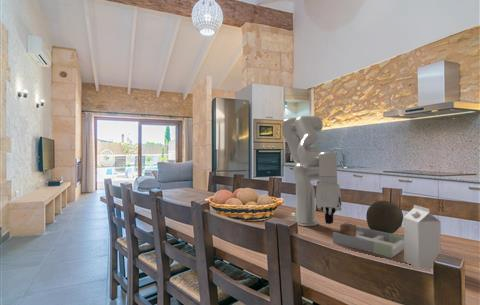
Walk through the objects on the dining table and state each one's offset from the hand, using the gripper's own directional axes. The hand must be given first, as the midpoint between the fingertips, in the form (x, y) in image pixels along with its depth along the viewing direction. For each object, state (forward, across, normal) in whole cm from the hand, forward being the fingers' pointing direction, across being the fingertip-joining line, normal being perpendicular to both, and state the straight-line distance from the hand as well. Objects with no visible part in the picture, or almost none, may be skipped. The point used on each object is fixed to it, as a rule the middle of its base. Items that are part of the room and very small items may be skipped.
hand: (329, 223), depth 116 cm
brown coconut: (+6, +14, +22) cm, 27 cm away
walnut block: (+4, +8, 0) cm, 9 cm away
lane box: (+7, +15, +4) cm, 17 cm away
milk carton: (+8, +35, -4) cm, 36 cm away
